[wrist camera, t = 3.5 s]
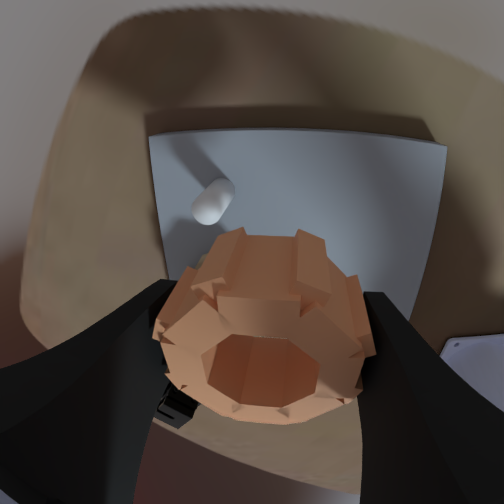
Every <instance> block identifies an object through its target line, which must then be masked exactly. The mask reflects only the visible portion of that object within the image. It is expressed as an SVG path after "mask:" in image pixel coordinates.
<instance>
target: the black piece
mask: <svg viewBox="0 0 504 504" xmlns="http://www.w3.org/2000/svg"><path fill="white" fill-rule="evenodd" d="M200 404H201V403H200V402H198V401H197V400H195V399H193V398H192V397H190V396H189V395H187V394H186V393H184V392H182V391H181V390H179V389H178V388H177V387H176V386H175V385H174V384H173V383H172V382H171V381H170V380H169V382H168V385H167V387H166V389H165V391H164V394H163V396H162V398H161V400H160V403H159V405H158V407H157V409H156V412H155V415H154V417H155V418H157V419H159V420H161V421H163V422H165V423H167V424H169V425H171V426H173V427H175V428H177V429H179V428H180V427H181V426H183V425H184V424H185V423H187V422H188V421H189V420H191V419H192V418H193V415H194V412H195V410H196V409H197V407H198V406H199V405H200Z"/></svg>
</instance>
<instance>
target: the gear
mask: <svg viewBox="0 0 504 504" xmlns="http://www.w3.org/2000/svg"><path fill="white" fill-rule="evenodd" d="M254 336H263V337H254ZM264 337H279V338H264ZM152 338H153V339H155V340H158V341H160V343H161V347H162V350H163V353H164V356H165V359H166V362H167V365H168V367H167V369H166V372H165V375H166V376H167V377H168V378H169V379H170V381H171V382H172V383H173V384H174V385H175V386H176V387H177V388H178V389H179V390H181V391H182V392H184V393H186V394H187V395H189V396H190V397H192V398H193V399H195V400H197V401H198V402H200V403H202V404H203V405H205V406H207V407H208V408H210V409H212V410H213V411H215V412H216V413H218V414H220V415H222V416H228V417H231V418H234V420H239V421H248V422H258V423H269V424H283V425H288V424H290V423H301V422H304V421H308V419H311V418H313V417H316V416H318V415H321V414H323V413H326V412H328V411H330V410H333V409H335V408H337V407H339V406H342V405H344V403H345V404H348V403H350V402H351V401H352V400H353V399H354V398H355V397H356V396H357V395H358V394H359V393H361V392H362V391H363V384H362V376H361V369H362V366H363V363H364V360H365V358H366V357H370V356H373V355H376V350H375V345H374V340H373V336H372V331H371V327H370V322H369V318H368V314H367V310H366V305H365V301H364V297H363V293H362V289H361V286H360V282H359V279H358V275H357V274H356V275H353V276H349V277H347V276H346V275H345V274H344V273H343V272H342V271H341V270H340V269H339V268H338V267H337V266H336V265H335V264H334V263H333V262H332V261H331V260H330V259H329V258H328V257H327V252H326V245H325V240H324V239H322V238H320V237H317V236H315V235H313V234H310V233H308V232H306V231H303V230H301V229H299V228H298V230H297V232H296V234H295V236H294V237H292V236H266V235H247V234H246V231H245V229H244V227H240V228H238V229H235V230H232V231H229V232H227V233H224V234H221V235H219V236H218V237H217V238H216V240H215V242H214V244H213V246H212V247H211V249H210V251H209V253H208V255H207V256H206V258H205V260H204V262H203V264H202V266H201V267H200V268H199V269H198V270H196V269H193V268H191V267H189V266H187V268H186V269H185V271H184V273H183V274H182V276H181V278H180V279H179V281H178V283H177V284H176V286H175V288H174V289H173V291H172V293H171V294H170V296H169V298H168V299H167V301H166V303H165V304H164V306H163V308H162V309H161V311H160V313H159V315H158V316H157V318H156V322H155V327H154V331H153V336H152ZM280 338H287V339H280Z"/></svg>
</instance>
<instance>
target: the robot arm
mask: <svg viewBox="0 0 504 504" xmlns="http://www.w3.org/2000/svg"><path fill="white" fill-rule="evenodd" d="M177 283H178V281H177V280H165V279H160V280H158V281H157V282H155V283H153V284H152V285H150V286H149V287H147V288H146V289H144V290H143V291H142V292H140V293H139V294H137V295H136V296H134V297H133V298H132V299H130V300H129V301H127V302H126V303H124V304H123V305H122V306H120V307H119V308H117V309H116V310H115V311H113V312H112V313H110V314H109V315H107V316H106V317H104V318H103V319H101V320H99V321H98V322H96V323H95V324H93V325H92V326H90V327H89V328H87V329H86V330H84V331H82V332H81V333H79V334H77V335H76V336H74V337H72V338H70V339H69V340H67V341H65V342H63V343H61V344H59V345H57V346H55V347H53V348H51V349H49V350H47V351H45V352H43V353H41V354H38V355H36V356H34V357H31V358H29V359H27V360H24V361H22V362H19V363H16V364H13V365H11V366H8V367H4V368H1V369H0V504H133V499H134V492H135V486H136V482H137V476H138V471H139V467H140V463H141V458H142V455H143V450H144V447H145V443H146V440H147V436H148V433H149V429H150V426H151V422H152V420H153V417H154V415H155V412H156V409H157V407H158V405H159V403H160V400H161V398H162V396H163V394H164V391H165V389H166V387H167V385H168V382H169V380H170V379H169V378H168V377H167V376H166V375H165V372H166V369H167V367H168V365H167V362H166V359H165V356H164V353H163V350H162V347H161V343H160V341H158V340H155V339H153V338H152V336H153V331H154V327H155V322H156V318H157V316H158V315H159V313H160V311H161V309H162V308H163V306H164V304H165V303H166V301H167V299H168V298H169V296H170V294H171V293H172V291H173V289H174V288H175V286H176V284H177ZM363 297H364V301H365V305H366V310H367V314H368V318H369V322H370V327H371V331H372V336H373V340H374V345H375V350H376V355H373V356H370V357H366V358H365V360H364V363H363V366H362V369H361V376H362V384H363V391H362V392H361V393H359V394H358V395H357V399H358V406H359V414H360V421H361V429H362V443H363V450H362V480H361V494H360V504H504V334H497V335H486V336H474V337H460V338H451V339H449V340H448V341H447V342H446V344H445V346H444V348H443V350H442V352H441V354H440V356H439V355H438V354H437V353H436V352H435V351H434V350H433V349H432V348H431V347H430V346H429V344H428V343H427V342H426V341H425V340H424V339H423V338H422V337H421V336H420V334H419V333H418V332H417V331H416V330H415V329H414V327H413V326H412V325H411V324H410V323H409V322H408V320H407V319H406V318H405V317H404V316H403V314H402V313H401V312H400V311H399V310H398V309H397V307H396V306H395V305H394V304H393V303H392V301H391V300H390V299H389V298H388V297H387V296H386V295H385V293H384V292H370V291H364V292H363Z"/></svg>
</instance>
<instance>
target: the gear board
mask: <svg viewBox="0 0 504 504" xmlns="http://www.w3.org/2000/svg"><path fill="white" fill-rule="evenodd" d="M149 146H150V155H151V164H152V172H153V181H154V188H155V196H156V203H157V210H158V216H159V223H160V229H161V235H162V241H163V247H164V252H165V258H166V263H167V269H168V274H169V279H170V280H177V281H179V279H180V278H181V276H182V274H183V273H184V271H185V269H186V268H187V266H189V267H191V268H193V269H195V267H196V265H197V263H198V262H199V260H200V258H201V257H202V255H204V254H207V253H209V251H210V249H211V247H212V246H213V244H214V242H215V240H216V238H217V237H218V236H219V235H221V234H224V233H227V232H229V231H232V230H235V229H238V228H240V227H244V229H245V231H246V234H247V235H266V236H292V237H294V236H295V234H296V232H297V230H298V228H299V229H301V230H303V231H306V232H308V233H310V234H313V235H315V236H317V237H320V238H322V239H324V240H325V245H326V252H327V257H328V258H329V259H330V260H331V261H332V262H333V263H334V264H335V265H336V266H337V267H338V268H339V269H340V270H341V271H342V272H343V273H344V274H345V275H346V276H347V277H349V276H353V275H356V274H357V275H358V279H359V282H360V286H361V289H362V293H363V292H364V291H370V292H384V293H385V295H386V296H387V297H388V298H389V299H390V300H391V301H392V303H393V304H394V305H395V306H396V307H397V309H398V310H399V311H400V312H401V313H402V314H403V316H404V317H405V318H406V319H407V320H408V322H409V319H410V316H411V313H412V310H413V307H414V304H415V301H416V297H417V294H418V291H419V288H420V284H421V281H422V277H423V274H424V270H425V266H426V263H427V259H428V255H429V251H430V247H431V242H432V238H433V234H434V229H435V224H436V219H437V214H438V209H439V204H440V198H441V192H442V186H443V179H444V172H445V164H446V155H447V146H445V145H443V144H440V143H438V142H433V141H427V140H421V139H415V138H408V137H401V136H393V135H385V134H376V133H367V132H356V131H343V130H329V129H309V128H225V129H205V130H190V131H177V132H166V133H159V134H156V135H152V136H149Z"/></svg>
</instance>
